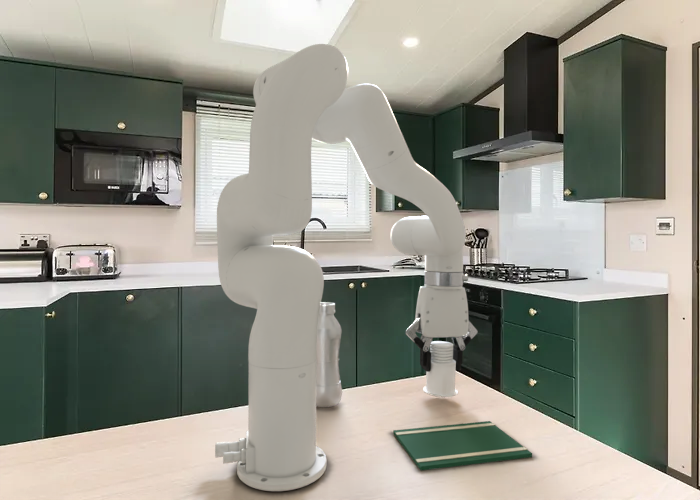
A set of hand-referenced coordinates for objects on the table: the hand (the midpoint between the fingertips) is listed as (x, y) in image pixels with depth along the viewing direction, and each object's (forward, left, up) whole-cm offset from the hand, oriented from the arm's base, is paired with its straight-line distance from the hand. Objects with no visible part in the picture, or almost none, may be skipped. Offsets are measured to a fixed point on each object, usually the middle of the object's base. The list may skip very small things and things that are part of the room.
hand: (440, 368), depth 89 cm
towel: (-5, -19, -7) cm, 21 cm away
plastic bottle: (-23, +2, -7) cm, 24 cm away
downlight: (0, 0, -5) cm, 5 cm away
